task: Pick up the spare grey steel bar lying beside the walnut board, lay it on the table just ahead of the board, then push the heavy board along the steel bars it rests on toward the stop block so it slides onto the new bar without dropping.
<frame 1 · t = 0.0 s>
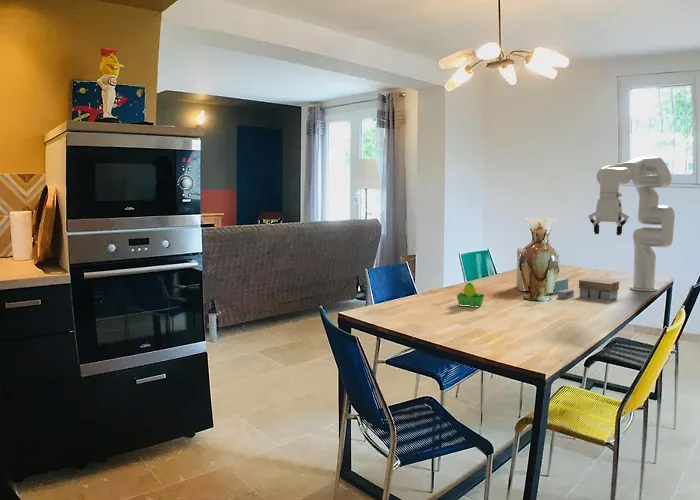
hand: (607, 234, 244), 31 cm above the table, tool pointing down, fingers open, 9 cm apart
board: (598, 289, 260), point 4 cm above the table, touching bar b
bar b: (598, 297, 260), on the table, touching board
bar a: (608, 299, 257), on the table
stop block: (558, 291, 275), on the table
cracker box: (523, 289, 283), on the table
fruit basket: (470, 306, 246), on the table
bar c: (587, 296, 264), on the table
bar d: (565, 297, 262), on the table
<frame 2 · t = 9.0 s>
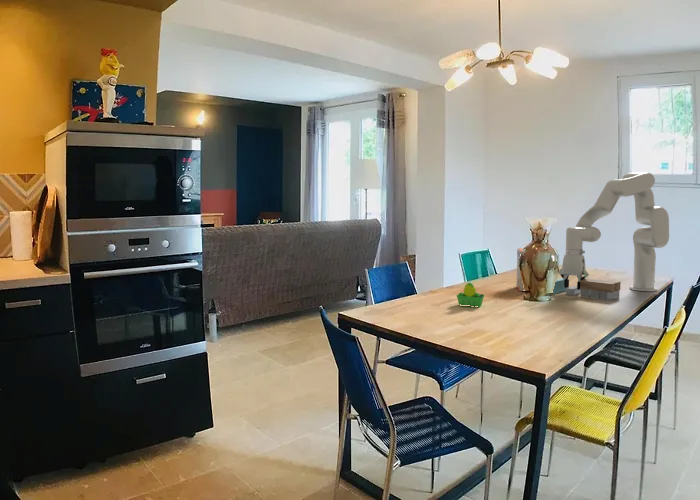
hand: (572, 288, 269), 3 cm above the table, tool pointing down, fingers open, 5 cm apart
bar d: (573, 294, 270), on the table
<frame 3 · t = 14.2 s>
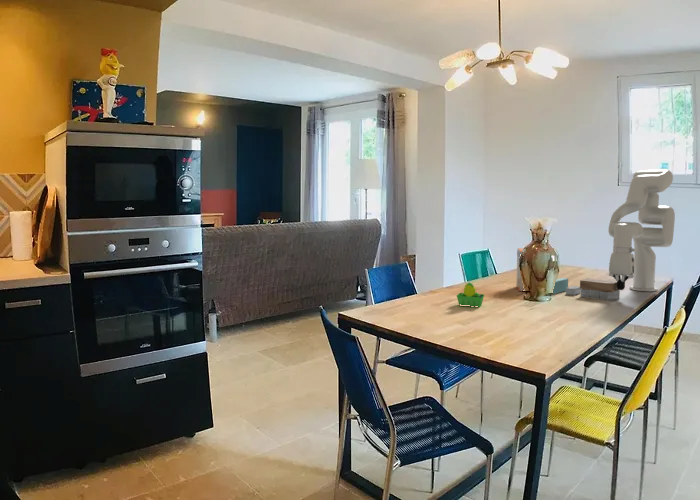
hand: (620, 289, 252), 5 cm above the table, tool pointing down, fingers closed
board: (599, 289, 260), point 4 cm above the table, touching bar b, gripper
everything else where it was.
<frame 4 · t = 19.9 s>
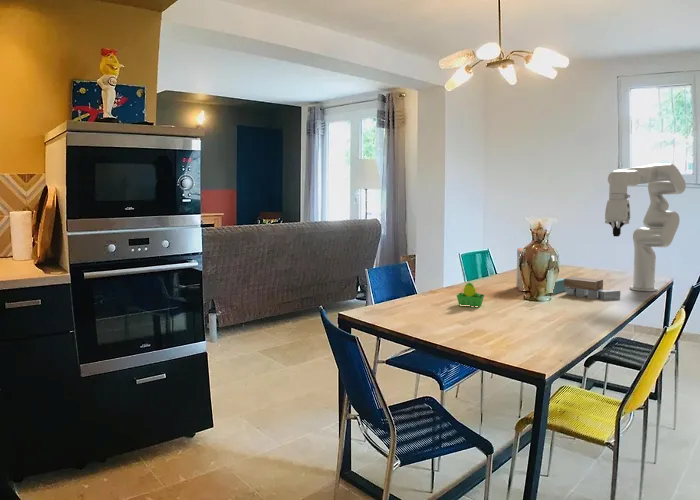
hand: (616, 236, 257), 29 cm above the table, tool pointing down, fingers closed
board: (583, 287, 265), point 4 cm above the table, touching bar c
bar b: (595, 297, 261), on the table
bar c: (583, 295, 266), on the table, touching board
at the end: board inside the target area (1.0 cm from its centre), point 3.9 cm above the table; board tilted 0°; bar d inside the target area under the board (2.1 cm from its centre), point -4.2 cm above the board's base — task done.
